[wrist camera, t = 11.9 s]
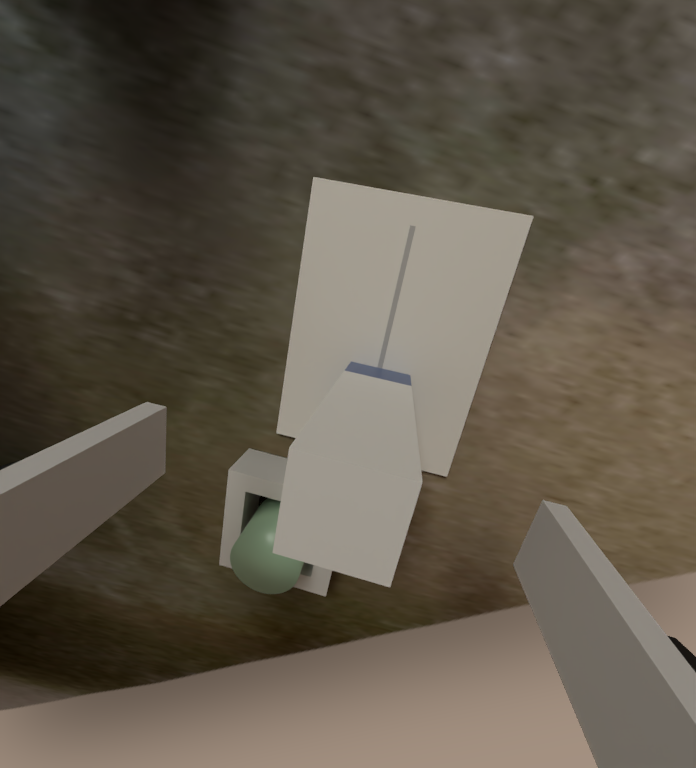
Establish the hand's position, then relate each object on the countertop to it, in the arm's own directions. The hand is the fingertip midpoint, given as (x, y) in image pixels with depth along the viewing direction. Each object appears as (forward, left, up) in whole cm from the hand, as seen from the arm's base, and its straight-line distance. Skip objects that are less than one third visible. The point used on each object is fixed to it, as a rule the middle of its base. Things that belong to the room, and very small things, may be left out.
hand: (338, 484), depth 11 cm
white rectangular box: (0, 0, -10) cm, 10 cm away
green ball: (+10, -4, -9) cm, 14 cm away
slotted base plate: (-4, 0, -11) cm, 11 cm away
